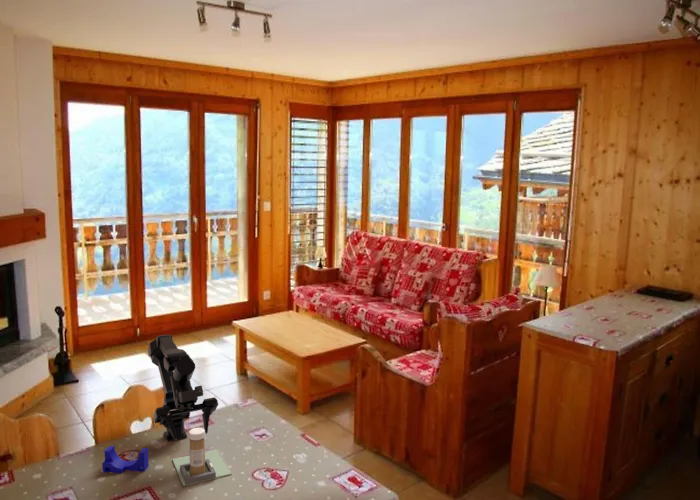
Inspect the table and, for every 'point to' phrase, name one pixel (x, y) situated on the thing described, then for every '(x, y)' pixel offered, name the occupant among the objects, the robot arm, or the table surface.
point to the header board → (213, 468)
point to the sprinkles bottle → (197, 451)
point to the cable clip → (124, 462)
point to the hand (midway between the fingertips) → (191, 436)
